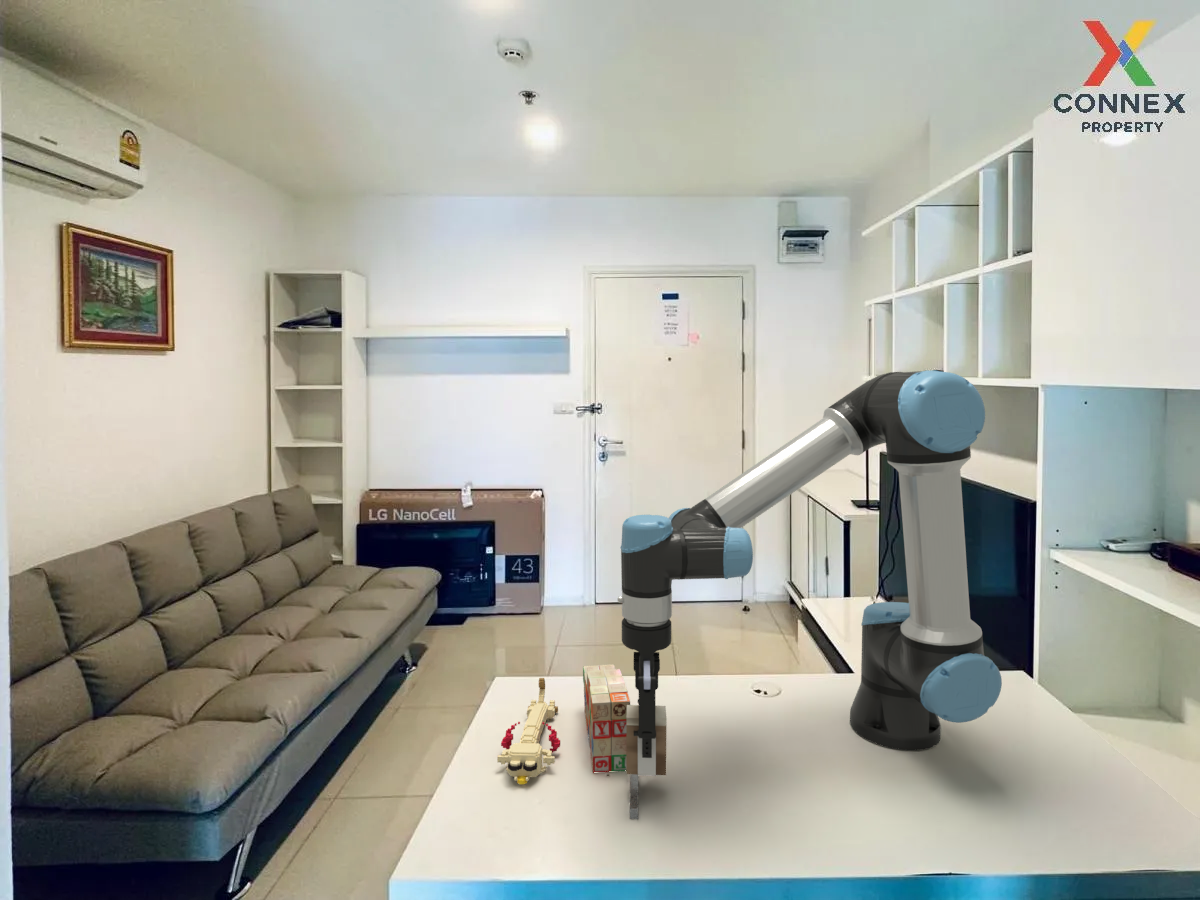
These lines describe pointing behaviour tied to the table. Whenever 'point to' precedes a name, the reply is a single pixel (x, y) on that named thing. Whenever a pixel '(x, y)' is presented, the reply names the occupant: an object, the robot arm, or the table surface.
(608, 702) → the stack of blocks
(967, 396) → the robot arm
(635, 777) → the grey bar
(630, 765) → the walnut block
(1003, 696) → the table surface
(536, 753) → the cream long toy figure
